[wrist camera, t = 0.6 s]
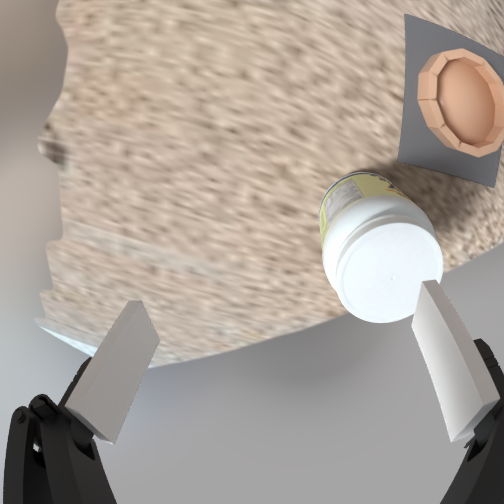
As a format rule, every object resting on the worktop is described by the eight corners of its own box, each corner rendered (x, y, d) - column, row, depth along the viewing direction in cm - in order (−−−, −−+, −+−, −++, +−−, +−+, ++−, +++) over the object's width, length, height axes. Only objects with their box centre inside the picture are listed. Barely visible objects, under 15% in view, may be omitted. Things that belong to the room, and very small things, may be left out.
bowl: (418, 39, 23) (428, 34, 20) (497, 74, 22) (510, 73, 18) (413, 137, 30) (423, 140, 27) (491, 161, 28) (503, 167, 25)
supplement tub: (416, 215, 35) (470, 279, 21) (355, 267, 41) (374, 348, 26) (364, 150, 33) (408, 179, 18) (299, 210, 38) (295, 276, 24)
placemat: (404, 14, 22) (405, 13, 22) (502, 57, 20) (504, 57, 20) (397, 161, 33) (398, 162, 32) (492, 187, 30) (494, 188, 30)
